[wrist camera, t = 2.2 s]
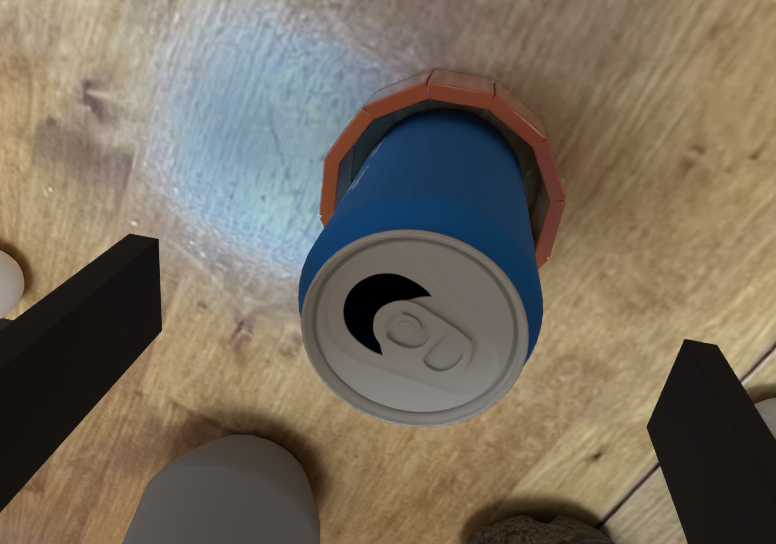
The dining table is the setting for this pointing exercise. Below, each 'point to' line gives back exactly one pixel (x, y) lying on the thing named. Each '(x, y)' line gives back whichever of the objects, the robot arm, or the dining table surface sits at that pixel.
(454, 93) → the can cup
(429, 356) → the beverage can
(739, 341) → the dining table surface
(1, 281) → the egg
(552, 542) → the seashell
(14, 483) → the robot arm
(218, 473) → the cup
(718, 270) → the dining table surface
